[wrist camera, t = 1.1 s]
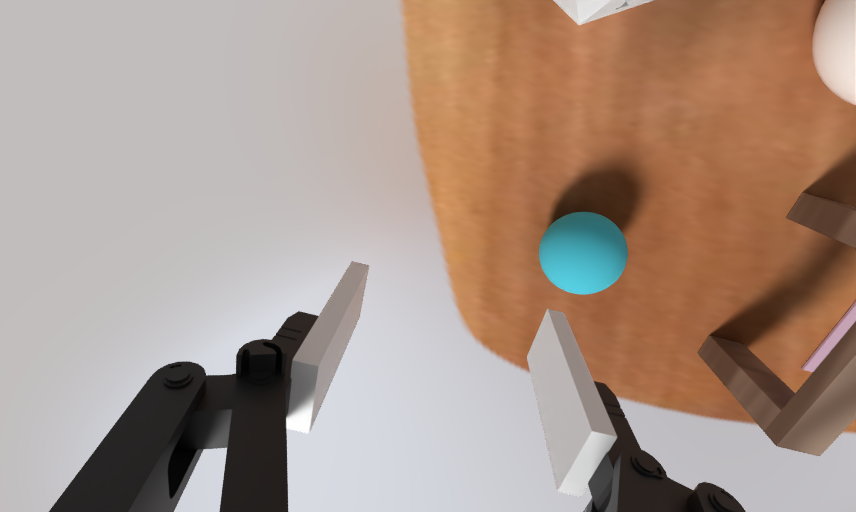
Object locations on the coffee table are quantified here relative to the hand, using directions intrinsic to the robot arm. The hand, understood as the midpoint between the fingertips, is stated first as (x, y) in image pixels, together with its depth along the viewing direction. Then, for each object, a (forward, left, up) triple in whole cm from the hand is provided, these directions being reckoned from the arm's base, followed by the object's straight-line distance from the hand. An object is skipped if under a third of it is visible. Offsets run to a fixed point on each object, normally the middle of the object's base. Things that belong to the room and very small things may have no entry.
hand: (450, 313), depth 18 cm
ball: (0, +9, -12) cm, 15 cm away
